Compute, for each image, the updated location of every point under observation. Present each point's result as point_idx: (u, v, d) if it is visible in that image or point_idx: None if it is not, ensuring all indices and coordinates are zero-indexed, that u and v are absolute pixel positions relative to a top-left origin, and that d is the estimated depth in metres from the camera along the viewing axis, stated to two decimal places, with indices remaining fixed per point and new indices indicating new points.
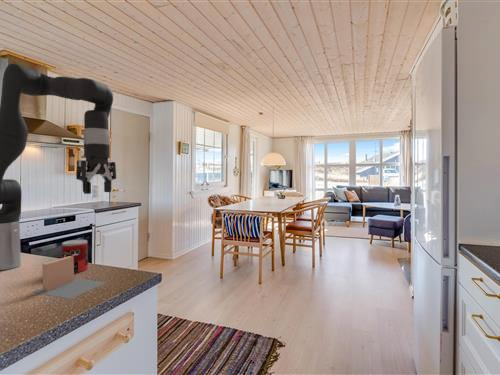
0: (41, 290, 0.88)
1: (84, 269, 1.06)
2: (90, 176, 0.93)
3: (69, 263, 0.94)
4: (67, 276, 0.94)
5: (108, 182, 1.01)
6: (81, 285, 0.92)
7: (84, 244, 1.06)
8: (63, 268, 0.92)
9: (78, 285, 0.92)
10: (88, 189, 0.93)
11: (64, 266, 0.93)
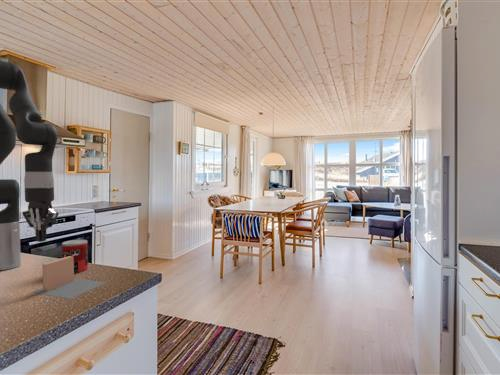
0: (41, 290, 0.88)
1: (84, 269, 1.06)
2: None
3: (69, 263, 0.94)
4: (67, 276, 0.94)
5: None
6: (81, 285, 0.92)
7: (84, 244, 1.06)
8: (63, 268, 0.92)
9: (78, 285, 0.92)
10: None
11: (64, 266, 0.93)
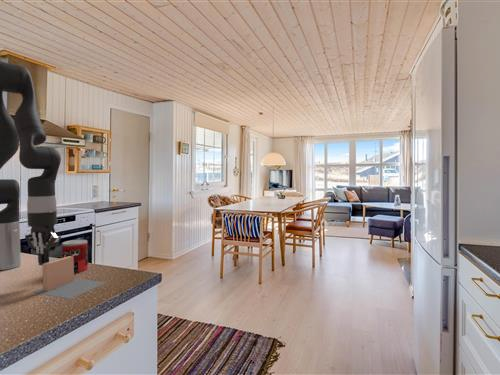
0: (41, 290, 0.88)
1: (84, 269, 1.06)
2: None
3: (69, 263, 0.94)
4: (67, 276, 0.94)
5: None
6: (81, 285, 0.92)
7: (84, 244, 1.06)
8: (63, 268, 0.92)
9: (78, 285, 0.92)
10: None
11: (64, 266, 0.93)
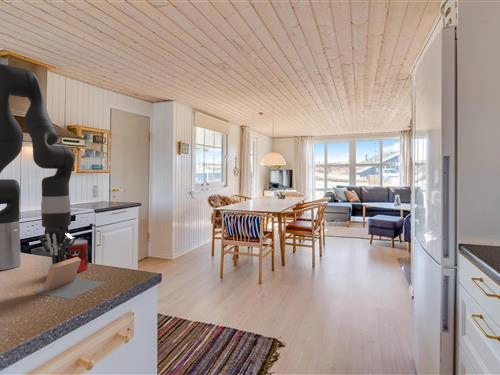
0: (41, 290, 0.88)
1: (84, 269, 1.06)
2: None
3: (75, 265, 0.94)
4: (69, 277, 0.93)
5: None
6: (81, 285, 0.92)
7: (84, 244, 1.06)
8: (68, 270, 0.92)
9: (78, 285, 0.92)
10: None
11: (70, 268, 0.92)
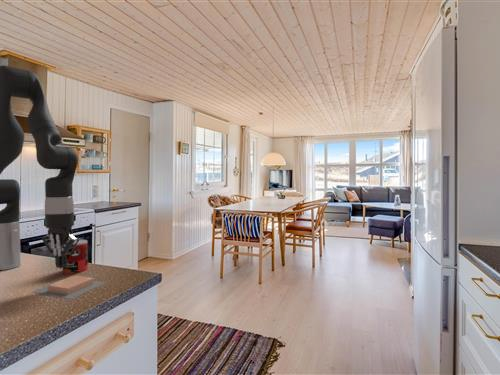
0: (41, 290, 0.88)
1: (84, 269, 1.06)
2: None
3: None
4: None
5: None
6: None
7: (84, 244, 1.06)
8: None
9: None
10: None
11: None
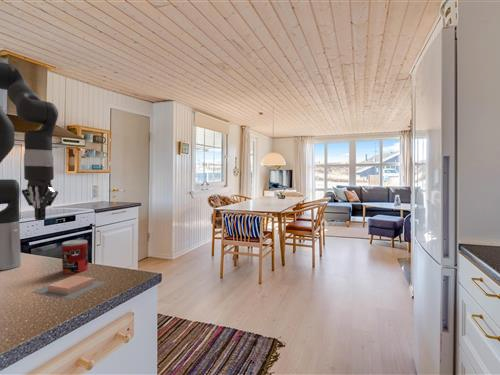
0: (41, 290, 0.88)
1: (84, 269, 1.06)
2: None
3: None
4: None
5: None
6: None
7: (84, 244, 1.06)
8: None
9: None
10: (44, 215, 0.94)
11: None
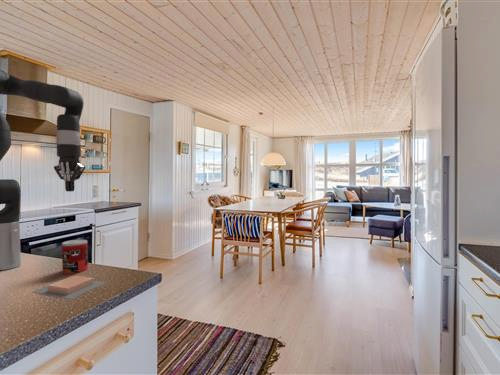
0: (41, 290, 0.88)
1: (84, 269, 1.06)
2: None
3: None
4: None
5: None
6: None
7: (84, 244, 1.06)
8: None
9: None
10: (73, 187, 1.09)
11: None
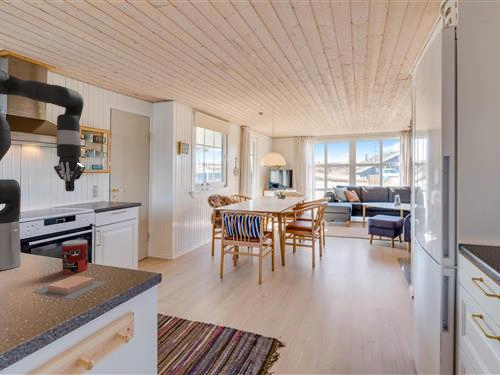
0: (41, 290, 0.88)
1: (84, 269, 1.06)
2: None
3: None
4: None
5: None
6: None
7: (84, 244, 1.06)
8: None
9: None
10: None
11: None
